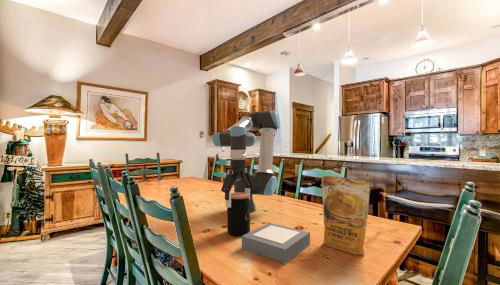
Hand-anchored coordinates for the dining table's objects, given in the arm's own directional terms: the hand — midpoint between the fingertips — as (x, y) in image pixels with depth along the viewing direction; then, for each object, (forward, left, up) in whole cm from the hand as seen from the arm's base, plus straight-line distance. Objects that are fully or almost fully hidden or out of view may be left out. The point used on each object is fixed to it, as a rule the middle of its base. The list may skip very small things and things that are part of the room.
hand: (238, 204), depth 111 cm
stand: (+22, -2, -13) cm, 26 cm away
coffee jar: (0, 0, -14) cm, 14 cm away
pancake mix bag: (+44, +13, -14) cm, 48 cm away
